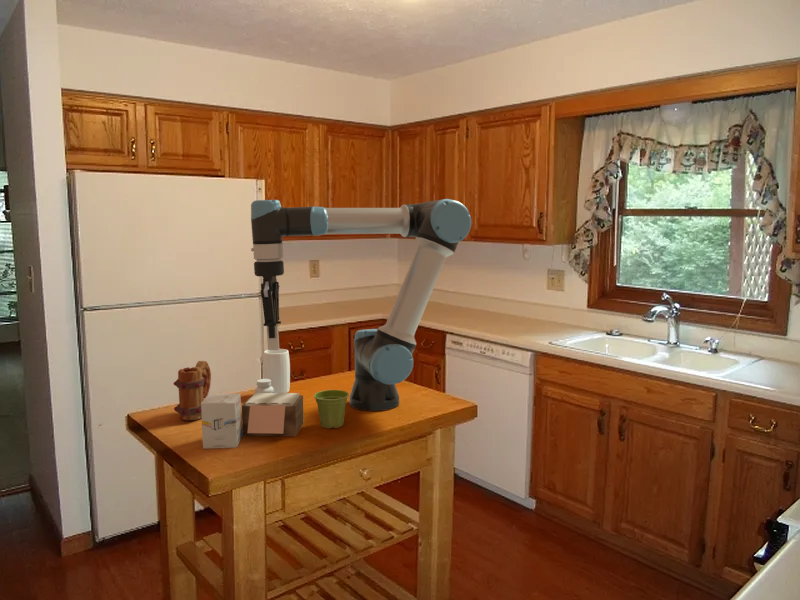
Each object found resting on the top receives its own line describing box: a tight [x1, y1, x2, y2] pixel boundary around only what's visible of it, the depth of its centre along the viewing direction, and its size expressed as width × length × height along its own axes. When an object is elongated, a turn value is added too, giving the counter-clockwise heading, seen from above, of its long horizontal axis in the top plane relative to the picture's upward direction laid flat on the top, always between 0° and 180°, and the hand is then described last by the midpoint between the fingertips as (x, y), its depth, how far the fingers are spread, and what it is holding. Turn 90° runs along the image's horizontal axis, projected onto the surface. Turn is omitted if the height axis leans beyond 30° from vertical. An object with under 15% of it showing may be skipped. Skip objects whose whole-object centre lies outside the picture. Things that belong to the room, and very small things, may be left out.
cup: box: [262, 348, 291, 393], centre depth 197 cm, size 8×8×14 cm
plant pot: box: [313, 389, 350, 429], centre depth 167 cm, size 9×9×9 cm
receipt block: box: [241, 392, 305, 437], centre depth 164 cm, size 14×10×9 cm
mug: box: [173, 360, 212, 421], centre depth 176 cm, size 15×8×15 cm, turn 168°
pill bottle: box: [254, 378, 274, 394], centre depth 178 cm, size 6×5×10 cm
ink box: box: [201, 392, 243, 450], centre depth 154 cm, size 9×8×12 cm
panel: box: [247, 405, 285, 434], centre depth 157 cm, size 9×7×1 cm
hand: (273, 349), depth 163 cm, fingers closed
